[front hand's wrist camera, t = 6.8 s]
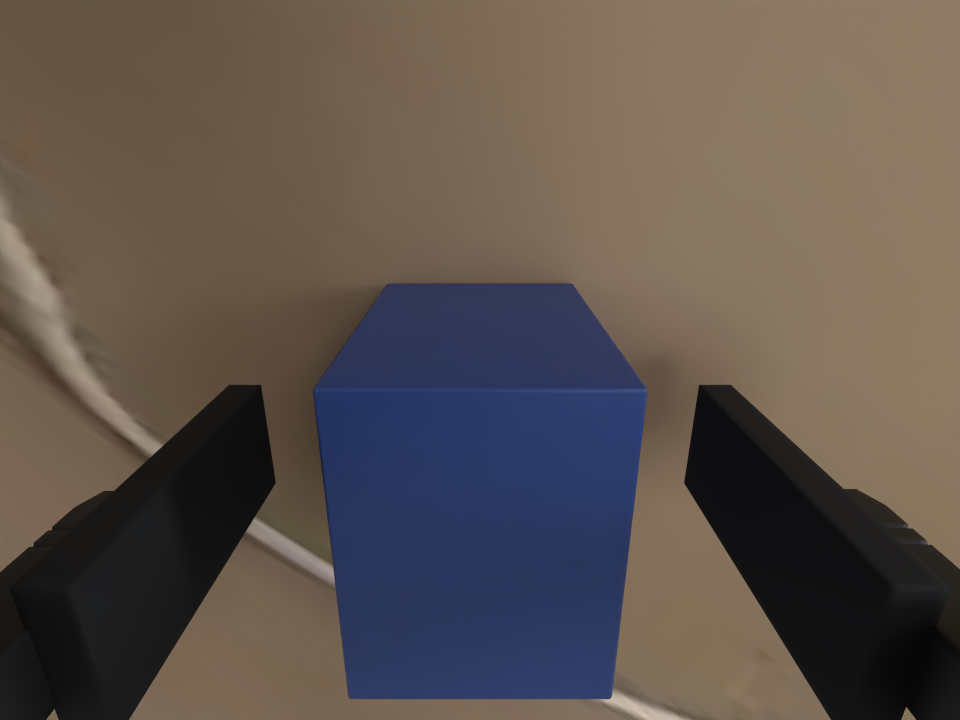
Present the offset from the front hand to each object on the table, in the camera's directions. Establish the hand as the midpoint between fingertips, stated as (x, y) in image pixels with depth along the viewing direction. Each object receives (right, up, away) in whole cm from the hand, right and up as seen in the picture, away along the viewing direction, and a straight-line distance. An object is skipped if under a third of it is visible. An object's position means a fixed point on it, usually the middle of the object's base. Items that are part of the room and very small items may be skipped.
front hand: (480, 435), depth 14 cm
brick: (0, +1, +2) cm, 3 cm away
